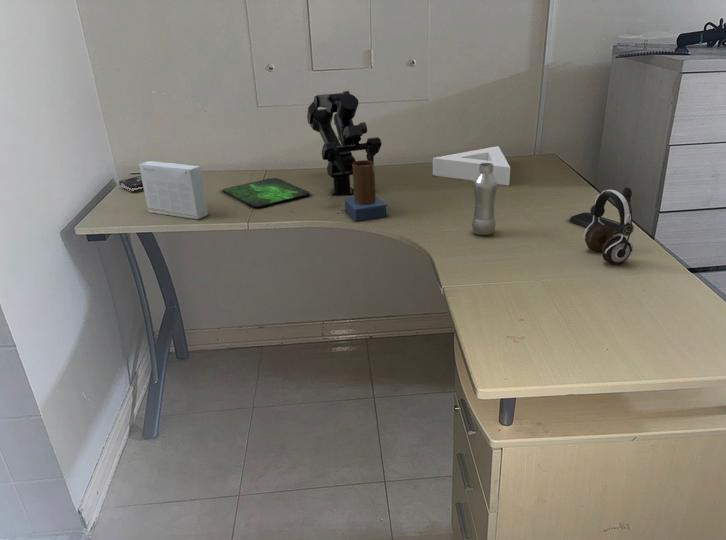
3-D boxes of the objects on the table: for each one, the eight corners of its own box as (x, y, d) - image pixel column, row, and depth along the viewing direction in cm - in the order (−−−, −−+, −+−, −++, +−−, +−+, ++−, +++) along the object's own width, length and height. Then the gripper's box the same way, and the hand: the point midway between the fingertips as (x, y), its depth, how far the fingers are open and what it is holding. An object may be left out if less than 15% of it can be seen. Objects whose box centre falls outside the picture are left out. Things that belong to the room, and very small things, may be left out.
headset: (637, 268, 161) (652, 191, 151) (609, 272, 160) (622, 194, 150) (603, 244, 176) (614, 171, 166) (577, 247, 174) (586, 174, 164)
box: (344, 210, 206) (343, 198, 204) (374, 206, 209) (374, 194, 207) (355, 221, 197) (355, 209, 195) (387, 216, 200) (386, 204, 198)
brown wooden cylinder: (359, 197, 205) (357, 159, 199) (378, 199, 202) (377, 161, 196) (351, 203, 199) (348, 165, 193) (370, 205, 197) (368, 166, 191)
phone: (586, 211, 195) (627, 225, 184) (585, 215, 195) (626, 228, 185) (568, 217, 191) (609, 231, 180) (567, 221, 192) (609, 235, 181)
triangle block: (509, 185, 224) (510, 167, 220) (434, 187, 224) (434, 169, 221) (497, 162, 250) (498, 145, 246) (430, 164, 250) (430, 147, 247)
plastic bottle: (494, 238, 182) (498, 168, 172) (470, 237, 183) (473, 167, 173) (495, 230, 187) (499, 161, 177) (472, 229, 188) (475, 161, 178)
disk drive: (133, 194, 228) (170, 184, 237) (131, 186, 227) (169, 176, 236) (120, 188, 235) (157, 178, 244) (118, 180, 233) (155, 171, 242)
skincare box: (209, 214, 206) (201, 165, 198) (198, 220, 202) (189, 170, 194) (159, 207, 214) (148, 159, 206) (147, 212, 210) (136, 164, 202)
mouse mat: (220, 190, 228) (219, 187, 227) (274, 178, 239) (274, 175, 239) (255, 209, 209) (254, 206, 208) (312, 195, 220) (312, 192, 219)
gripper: (321, 116, 194) (334, 162, 191) (378, 110, 200) (392, 154, 196) (316, 137, 204) (328, 180, 201) (371, 131, 210) (384, 173, 207)
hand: (358, 172), depth 201 cm, fingers open, 9 cm apart
